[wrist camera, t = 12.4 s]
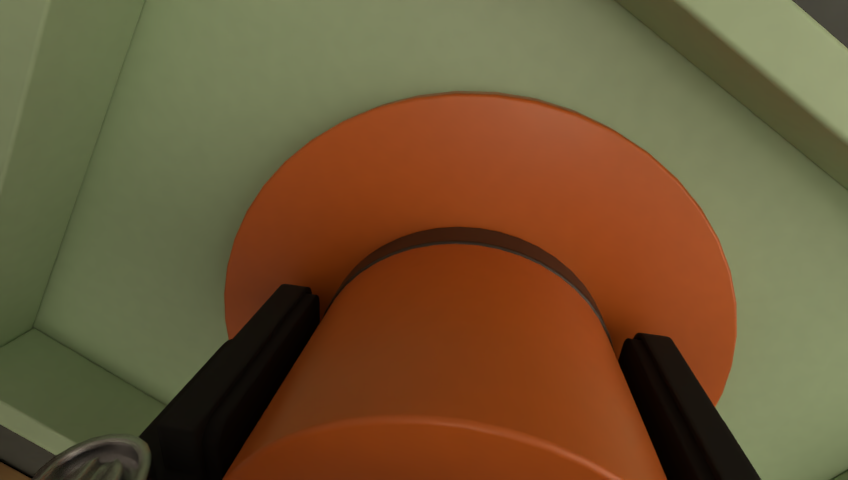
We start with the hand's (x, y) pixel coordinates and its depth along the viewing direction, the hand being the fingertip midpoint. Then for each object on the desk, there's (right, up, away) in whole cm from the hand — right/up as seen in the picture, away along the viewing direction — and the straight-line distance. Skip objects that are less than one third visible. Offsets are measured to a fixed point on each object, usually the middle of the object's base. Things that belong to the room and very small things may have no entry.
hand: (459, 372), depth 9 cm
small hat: (0, 0, +1) cm, 1 cm away
